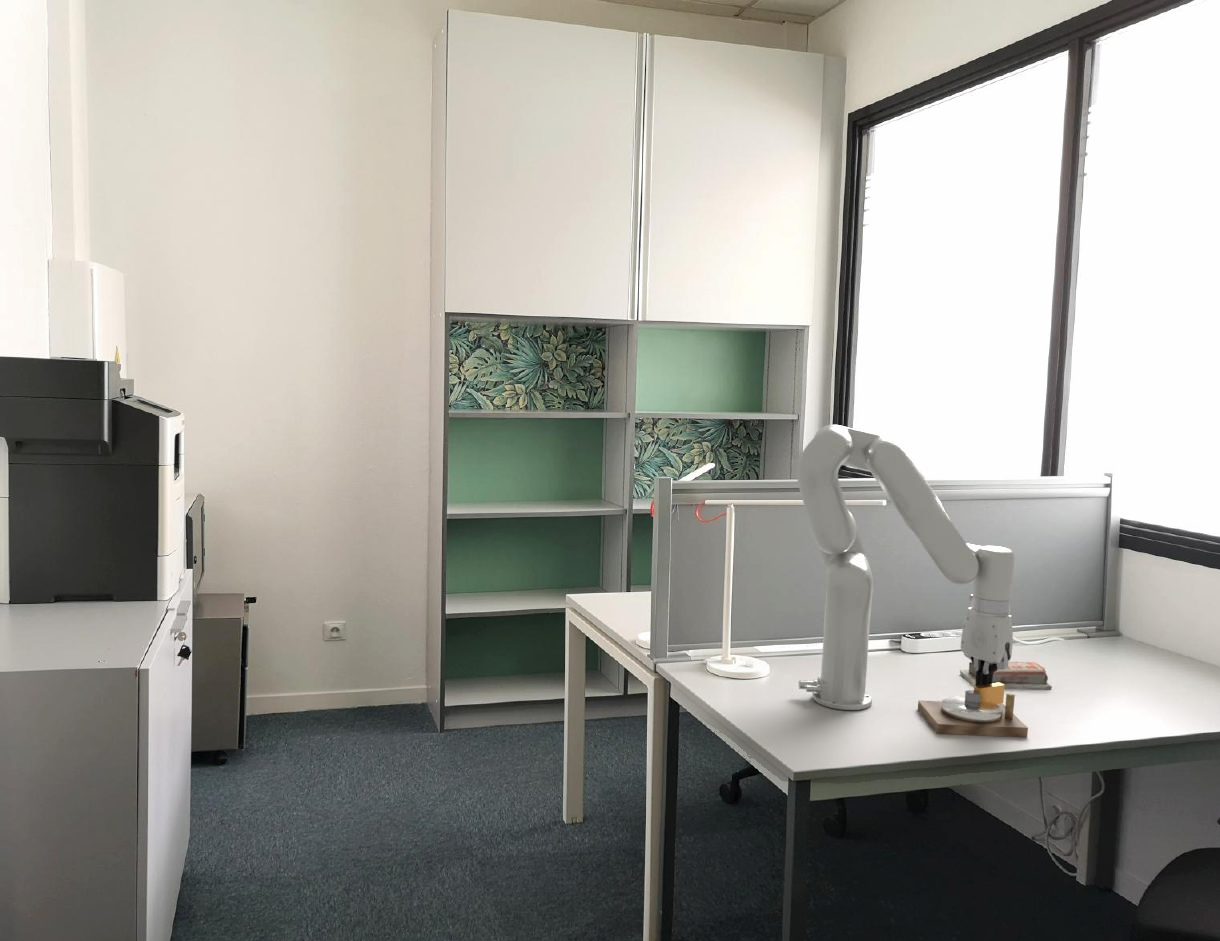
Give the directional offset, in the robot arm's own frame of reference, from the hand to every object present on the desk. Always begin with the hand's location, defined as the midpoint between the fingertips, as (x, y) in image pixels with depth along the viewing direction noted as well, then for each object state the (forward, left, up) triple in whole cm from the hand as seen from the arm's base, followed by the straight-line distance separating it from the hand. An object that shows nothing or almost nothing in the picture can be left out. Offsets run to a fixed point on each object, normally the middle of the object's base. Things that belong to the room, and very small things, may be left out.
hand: (983, 689), depth 220 cm
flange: (-3, -5, -3) cm, 6 cm away
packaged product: (+14, +24, -6) cm, 28 cm away
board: (-4, -5, -6) cm, 8 cm away
